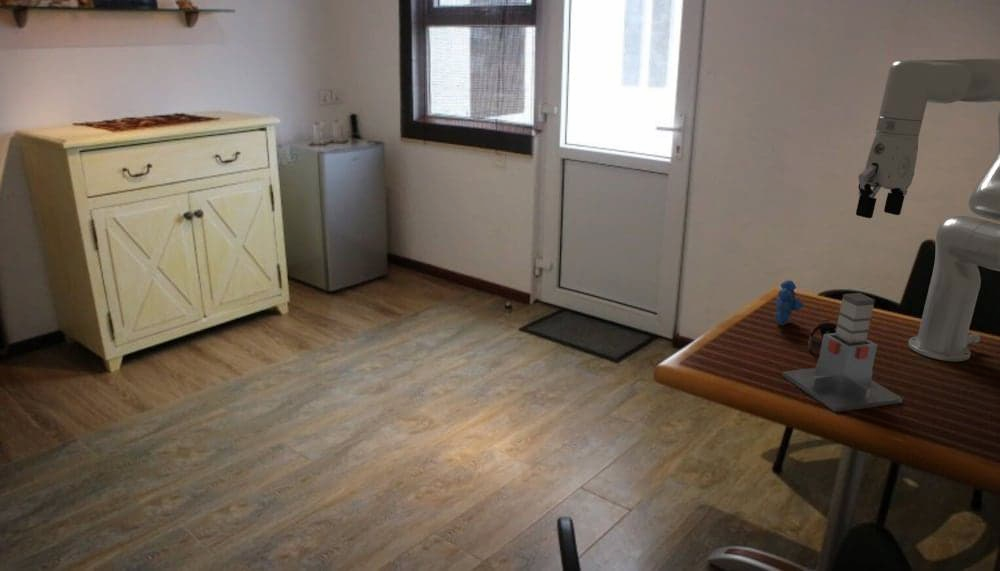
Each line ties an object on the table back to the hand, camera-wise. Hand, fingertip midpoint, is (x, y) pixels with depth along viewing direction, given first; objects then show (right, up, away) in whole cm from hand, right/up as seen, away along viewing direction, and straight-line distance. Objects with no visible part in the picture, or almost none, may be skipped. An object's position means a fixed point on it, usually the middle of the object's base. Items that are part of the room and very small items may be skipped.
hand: (877, 215), depth 149 cm
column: (-6, -34, +3) cm, 35 cm away
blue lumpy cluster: (-5, -24, +36) cm, 44 cm away
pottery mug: (0, -29, +22) cm, 37 cm away
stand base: (-6, -35, +4) cm, 36 cm away
